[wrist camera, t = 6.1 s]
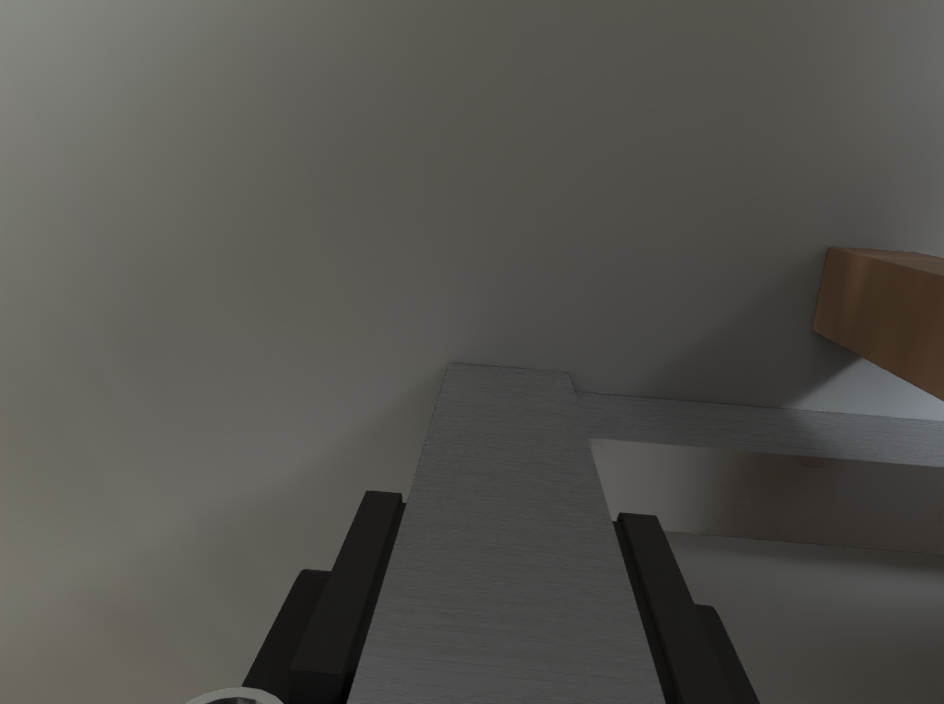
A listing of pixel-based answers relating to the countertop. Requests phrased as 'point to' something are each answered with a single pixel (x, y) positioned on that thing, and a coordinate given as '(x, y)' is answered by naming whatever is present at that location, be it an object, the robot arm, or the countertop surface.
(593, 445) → the grey angled piece
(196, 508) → the countertop surface
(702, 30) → the countertop surface
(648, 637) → the robot arm
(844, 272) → the shelf
